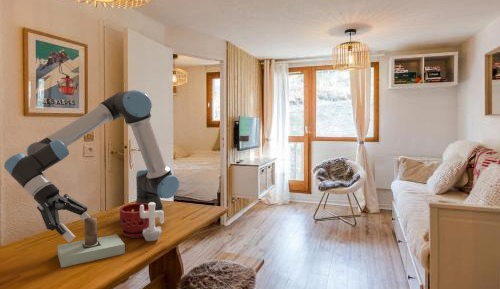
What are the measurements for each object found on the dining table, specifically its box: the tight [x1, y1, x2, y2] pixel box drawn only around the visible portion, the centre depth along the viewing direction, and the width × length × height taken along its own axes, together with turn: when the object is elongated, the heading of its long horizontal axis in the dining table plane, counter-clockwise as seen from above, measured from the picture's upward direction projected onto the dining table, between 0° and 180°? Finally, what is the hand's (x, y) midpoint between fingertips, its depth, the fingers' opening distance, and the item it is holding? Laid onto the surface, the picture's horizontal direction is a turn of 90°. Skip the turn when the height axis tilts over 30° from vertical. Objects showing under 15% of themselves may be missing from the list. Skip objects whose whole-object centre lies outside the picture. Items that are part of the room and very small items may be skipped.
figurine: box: [140, 202, 165, 242], centre depth 129 cm, size 7×9×15 cm
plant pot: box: [119, 203, 149, 239], centre depth 133 cm, size 13×13×12 cm
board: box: [57, 233, 126, 268], centre depth 113 cm, size 20×12×4 cm, turn 126°
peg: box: [83, 216, 98, 249], centre depth 113 cm, size 4×4×13 cm
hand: (84, 232), depth 113 cm, fingers open, 13 cm apart
